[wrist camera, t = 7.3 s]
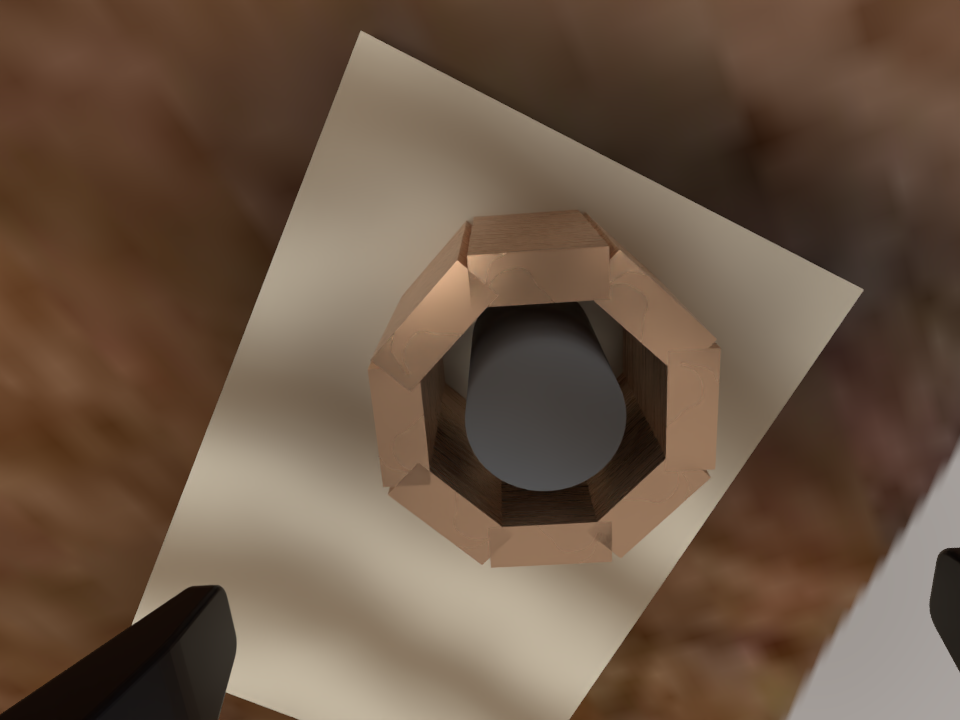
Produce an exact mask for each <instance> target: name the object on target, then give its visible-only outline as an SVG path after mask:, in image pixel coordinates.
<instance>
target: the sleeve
mask: <svg viewBox="0 0 960 720" xmlns="http://www.w3.org/2000/svg"><path fill="white" fill-rule="evenodd" d="M592 300H594V301H595V302H596V303H597V304H598V305H599V306H600V307H601V308H603V309H604V310H605V311H606V312H607V313H608V314H609V315H610V316H612V317H613V318H614V319H615V320H616V321H617V322H618V323H619V324H621V325H622V326H623V372H622V373H621V374H620V375H619V376H618V377H617V378H616V380H617V382H618V384H619V386H620V389H621V391H622V394H623V397H624V401H625V405H626V426H625V431H624V435H623V438H622V441H621V443H620V445H619V447H618V449H617V451H616V453H615V454H614V456H613V457H612V459H611V460H610V461H609V462H608V463H607V464H606V466H605V467H604V468H603V469H601V470H600V471H599V472H598V473H597V474H595V475H594V476H592V477H591V478H589V479H588V480H586V481H584V482H582V483H580V484H578V485H575V486H572V487H569V488H565V489H561V490H554V491H534V490H527V489H523V488H519V487H516V486H513V485H510V484H508V483H506V482H504V481H502V480H500V479H499V478H497V477H496V476H495V475H493V474H492V473H491V472H490V471H488V470H487V469H486V468H485V467H484V466H483V465H482V463H481V462H480V461H479V460H478V458H477V457H476V455H475V454H474V452H473V450H472V448H471V446H470V444H469V440H468V437H467V433H466V427H465V411H466V399H465V398H464V397H463V396H461V395H460V394H459V393H458V392H456V391H455V390H454V389H453V388H451V387H450V386H449V385H448V384H446V383H445V375H444V364H443V355H444V354H445V353H446V352H447V351H448V350H449V349H450V348H451V347H452V345H453V344H454V343H455V342H456V341H457V340H458V339H459V338H460V337H461V335H462V334H463V333H464V332H465V331H466V330H467V329H468V328H469V327H470V326H471V324H472V323H473V322H474V321H475V320H476V319H477V318H478V317H479V316H480V314H481V313H482V312H483V311H484V310H485V309H486V308H487V307H497V306H513V305H528V304H544V303H560V302H576V301H592ZM716 340H717V338H716V337H715V336H714V335H713V334H712V333H711V332H710V331H709V330H708V329H707V328H706V327H705V326H704V325H703V324H702V323H701V322H700V321H699V320H698V319H697V318H696V317H695V316H694V315H693V314H692V313H691V312H690V311H689V310H688V309H687V308H686V307H685V306H684V305H683V304H682V303H681V302H680V301H679V300H678V299H677V298H676V297H675V296H674V295H673V294H672V293H671V292H670V291H669V290H668V289H667V288H666V286H665V285H664V284H663V283H662V282H661V281H660V280H659V279H658V278H656V277H655V276H654V275H653V274H652V273H651V272H650V271H649V270H648V269H647V268H646V267H645V266H643V265H642V264H641V263H640V262H639V261H638V260H637V259H636V258H635V257H634V256H633V255H631V254H630V253H629V252H628V251H627V250H626V249H625V248H624V247H623V246H622V245H621V244H620V243H618V242H617V241H616V240H615V239H614V238H613V237H612V236H611V235H610V234H609V233H608V232H606V231H605V230H604V229H603V228H602V227H601V226H600V225H599V224H598V223H597V222H596V221H595V220H593V219H592V218H591V217H590V216H589V215H588V214H587V213H586V212H585V213H584V214H583V215H582V214H581V213H580V211H579V210H564V211H550V212H535V213H521V214H506V215H491V216H477V217H474V218H473V224H472V225H471V224H470V223H469V222H468V221H467V220H466V222H465V223H464V224H463V225H462V226H461V227H460V229H459V230H458V231H457V232H456V233H455V234H454V236H453V237H452V238H451V239H450V240H449V241H448V243H447V244H446V245H445V246H444V247H443V248H442V250H441V251H440V252H439V253H438V254H437V255H436V257H435V258H434V259H433V260H432V261H431V262H430V264H429V265H428V266H427V267H426V268H425V269H424V271H423V272H422V273H421V274H420V275H419V276H418V278H417V279H416V280H415V281H414V282H413V283H412V285H411V286H410V287H409V288H408V289H407V290H406V292H405V293H404V294H403V295H402V296H401V299H400V301H399V303H398V305H397V307H396V309H395V311H394V313H393V315H392V317H391V319H390V321H389V323H388V325H387V327H386V329H385V331H384V333H383V335H382V337H381V339H380V342H379V344H378V346H377V348H376V350H375V352H374V354H373V356H372V358H371V363H370V366H369V368H368V377H369V384H370V392H371V399H372V407H373V415H374V422H375V430H376V437H377V445H378V453H379V460H380V468H381V476H382V483H383V487H390V488H389V492H388V495H389V496H390V497H391V498H393V499H394V500H395V501H397V502H398V503H399V504H401V505H402V506H403V507H405V508H406V509H407V510H409V511H410V512H411V513H413V514H414V515H415V516H417V517H418V518H419V519H421V520H422V521H423V522H425V523H426V524H427V525H429V526H430V527H431V528H433V529H434V530H436V531H437V532H438V533H440V534H441V535H442V536H444V537H445V538H446V539H448V540H449V541H450V542H452V543H453V544H454V545H456V546H457V547H458V548H460V549H461V550H462V551H464V552H465V553H466V554H468V555H469V556H470V557H472V558H473V559H474V560H476V561H477V562H478V563H480V564H481V565H483V564H484V563H485V562H486V561H487V560H488V559H489V558H490V562H491V568H497V567H518V566H538V565H558V564H579V563H599V562H612V552H613V553H615V554H616V555H617V556H618V557H620V558H622V557H623V556H624V555H625V554H626V553H627V552H629V551H630V550H631V549H632V548H633V547H634V546H635V545H636V544H638V543H639V542H640V541H641V540H642V539H643V538H644V537H645V536H646V535H648V534H649V533H650V532H651V531H652V530H653V529H654V528H655V527H657V526H658V525H659V524H660V523H661V522H662V521H663V520H664V519H665V518H667V517H668V516H669V515H670V514H671V513H672V512H673V511H674V510H676V509H677V508H678V507H679V506H680V505H681V504H682V503H683V502H684V501H686V500H687V499H688V498H689V497H690V496H691V495H692V494H693V493H695V492H696V491H697V490H698V489H699V488H700V487H701V486H702V485H703V484H705V483H706V482H707V481H708V480H709V479H710V478H711V477H710V475H709V473H708V472H707V470H713V469H715V464H716V443H717V421H718V400H719V378H720V356H721V348H720V347H719V346H718V345H717V344H716V343H715V341H716Z"/></svg>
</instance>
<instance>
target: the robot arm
mask: <svg viewBox="0 0 960 720" xmlns="http://www.w3.org/2000/svg"><path fill="white" fill-rule="evenodd" d="M930 614H931V618H932V621H933V623H934V625H935V627H936V629H937V631H938V633H939V635H940V636H941V638H942V640H943V642H944V644H945V646H946V647H947V649H948V651H949V653H950V655H951V657H952V658H953V660H954V662H955V664H956V666H957V667H958V670H959V671H960V548H947V549H944V550H943V551H941V552H940V554H939V555H938V558H937V562H936V567H935V573H934V579H933V585H932V591H931V596H930ZM236 649H237V637H236V632H235V628H234V623H233V619H232V615H231V610H230V606H229V602H228V597H227V594H226V591H225V590H224V588H223V587H221V586H220V585H199V586H191V587H188V588H186V589H185V590H183V591H182V592H180V593H179V594H177V595H176V596H174V597H173V598H171V599H170V600H169V601H167V602H166V603H164V604H163V605H161V606H160V607H158V608H157V609H155V610H154V611H152V612H151V613H149V614H148V615H146V616H145V617H143V618H142V619H140V620H139V621H138V622H136V623H135V624H133V625H132V626H130V627H129V628H127V629H126V630H124V631H123V632H121V633H120V634H118V635H117V636H115V637H114V638H112V639H111V640H109V641H108V642H107V643H105V644H104V645H102V646H101V647H99V648H98V649H96V650H95V651H93V652H92V653H90V654H89V655H87V656H86V657H84V658H83V659H81V660H80V661H78V662H77V663H76V664H74V665H73V666H71V667H70V668H68V669H67V670H65V671H64V672H62V673H61V674H59V675H58V676H56V677H55V678H53V679H52V680H50V681H49V682H47V683H46V684H45V685H43V686H42V687H40V688H39V689H37V690H36V691H34V692H33V693H31V694H30V695H28V696H27V697H25V698H24V699H22V700H21V701H19V702H18V703H16V704H15V705H14V706H12V707H11V708H9V709H8V710H6V711H5V712H3V713H2V714H0V720H218V719H219V715H220V711H221V708H222V704H223V700H224V697H225V693H226V689H227V685H228V682H229V678H230V674H231V671H232V667H233V663H234V660H235V656H236Z"/></svg>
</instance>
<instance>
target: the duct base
mask: <svg viewBox="0 0 960 720" xmlns="http://www.w3.org/2000/svg"><path fill="white" fill-rule="evenodd" d="M564 210H579V211H580V213H581V214H582V215H583V214H584V213H585V212H586V213H587V214H588V215H589V216H590V217H591V218H592V219H593V220H595V221H596V222H597V223H598V224H599V225H600V226H601V227H602V228H603V229H604V230H605V231H606V232H608V233H609V234H610V235H611V236H612V237H613V238H614V239H615V240H616V241H617V242H618V243H620V244H621V245H622V246H623V247H624V248H625V249H626V250H627V251H628V252H629V253H630V254H631V255H633V256H634V257H635V258H636V259H637V260H638V261H639V262H640V263H641V264H642V265H643V266H645V267H646V268H647V269H648V270H649V271H650V272H651V273H652V274H653V275H654V276H655V277H656V278H658V279H659V280H660V281H661V282H662V283H663V284H664V285H665V286H666V288H667V289H668V290H669V291H670V292H671V293H672V294H673V295H674V296H675V297H676V298H677V299H678V300H679V301H680V302H681V303H682V304H683V305H684V306H685V307H686V308H687V309H688V310H689V311H690V312H691V313H692V314H693V315H694V316H695V317H696V318H697V319H698V320H699V321H700V322H701V323H702V324H703V325H704V326H705V327H706V328H707V329H708V330H709V331H710V332H711V333H712V334H713V335H714V336H715V337H716V338H717V340H716V341H715V343H716V344H717V345H718V346H719V347H720V348H721V356H720V378H719V400H718V421H717V443H716V464H715V469H713V470H707V472H708V473H709V475H710V477H711V478H710V479H709V480H708V481H707V482H706V483H705V484H703V485H702V486H701V487H700V488H699V489H698V490H697V491H696V492H695V493H693V494H692V495H691V496H690V497H689V498H688V499H687V500H686V501H684V502H683V503H682V504H681V505H680V506H679V507H678V508H677V509H676V510H674V511H673V512H672V513H671V514H670V515H669V516H668V517H667V518H665V519H664V520H663V521H662V522H661V523H660V524H659V525H658V526H657V527H655V528H654V529H653V530H652V531H651V532H650V533H649V534H648V535H646V536H645V537H644V538H643V539H642V540H641V541H640V542H639V543H638V544H636V545H635V546H634V547H633V548H632V549H631V550H630V551H629V552H627V553H626V554H625V555H624V556H623V557H622V558H620V557H618V556H617V555H616V554H615V553H613V552H612V562H599V563H579V564H558V565H538V566H518V567H497V568H491V562H490V558H489V559H488V560H487V561H486V562H485V563H484V564H483V565H481V564H480V563H478V562H477V561H476V560H474V559H473V558H472V557H470V556H469V555H468V554H466V553H465V552H464V551H462V550H461V549H460V548H458V547H457V546H456V545H454V544H453V543H452V542H450V541H449V540H448V539H446V538H445V537H444V536H442V535H441V534H440V533H438V532H437V531H436V530H434V529H433V528H431V527H430V526H429V525H427V524H426V523H425V522H423V521H422V520H421V519H419V518H418V517H417V516H415V515H414V514H413V513H411V512H410V511H409V510H407V509H406V508H405V507H403V506H402V505H401V504H399V503H398V502H397V501H395V500H394V499H393V498H391V497H390V496H389V495H388V492H389V488H390V487H383V483H382V476H381V468H380V460H379V453H378V445H377V437H376V430H375V422H374V415H373V407H372V399H371V392H370V384H369V377H368V368H369V366H370V363H371V358H372V356H373V354H374V352H375V350H376V348H377V346H378V344H379V342H380V339H381V337H382V335H383V333H384V331H385V329H386V327H387V325H388V323H389V321H390V319H391V317H392V315H393V313H394V311H395V309H396V307H397V305H398V303H399V301H400V299H401V296H402V295H403V294H404V293H405V292H406V290H407V289H408V288H409V287H410V286H411V285H412V283H413V282H414V281H415V280H416V279H417V278H418V276H419V275H420V274H421V273H422V272H423V271H424V269H425V268H426V267H427V266H428V265H429V264H430V262H431V261H432V260H433V259H434V258H435V257H436V255H437V254H438V253H439V252H440V251H441V250H442V248H443V247H444V246H445V245H446V244H447V243H448V241H449V240H450V239H451V238H452V237H453V236H454V234H455V233H456V232H457V231H458V230H459V229H460V227H461V226H462V225H463V224H464V223H465V222H466V220H467V221H468V222H469V223H470V224H471V225H472V224H473V218H474V217H477V216H491V215H506V214H521V213H535V212H550V211H564ZM863 290H864V289H862V288H860V287H858V286H856V285H854V284H852V283H850V282H848V281H846V280H844V279H842V278H840V277H838V276H836V275H834V274H832V273H831V272H829V271H827V270H825V269H823V268H821V267H819V266H817V265H815V264H813V263H811V262H809V261H807V260H805V259H803V258H801V257H799V256H798V255H796V254H794V253H792V252H790V251H788V250H786V249H784V248H782V247H780V246H778V245H776V244H774V243H772V242H770V241H768V240H766V239H764V238H763V237H761V236H759V235H757V234H755V233H753V232H751V231H749V230H747V229H745V228H743V227H741V226H739V225H737V224H735V223H733V222H731V221H730V220H728V219H726V218H724V217H722V216H720V215H718V214H716V213H714V212H712V211H710V210H708V209H706V208H704V207H702V206H700V205H698V204H697V203H695V202H693V201H691V200H689V199H687V198H685V197H683V196H681V195H679V194H677V193H675V192H673V191H671V190H669V189H667V188H665V187H663V186H662V185H660V184H658V183H656V182H654V181H652V180H650V179H648V178H646V177H644V176H642V175H640V174H638V173H636V172H634V171H632V170H630V169H629V168H627V167H625V166H623V165H621V164H619V163H617V162H615V161H613V160H611V159H609V158H607V157H605V156H603V155H601V154H599V153H597V152H596V151H594V150H592V149H590V148H588V147H586V146H584V145H582V144H580V143H578V142H576V141H574V140H572V139H570V138H568V137H566V136H564V135H562V134H561V133H559V132H557V131H555V130H553V129H551V128H549V127H547V126H545V125H543V124H541V123H539V122H537V121H535V120H533V119H531V118H529V117H528V116H526V115H524V114H522V113H520V112H518V111H516V110H514V109H512V108H510V107H508V106H506V105H504V104H502V103H500V102H498V101H496V100H495V99H493V98H491V97H489V96H487V95H485V94H483V93H481V92H479V91H477V90H475V89H473V88H471V87H469V86H467V85H465V84H463V83H462V82H460V81H458V80H456V79H454V78H452V77H450V76H448V75H446V74H444V73H442V72H440V71H438V70H436V69H434V68H432V67H430V66H428V65H427V64H425V63H423V62H421V61H419V60H417V59H415V58H413V57H411V56H409V55H407V54H405V53H403V52H401V51H399V50H397V49H395V48H394V47H392V46H390V45H388V44H386V43H384V42H382V41H380V40H378V39H376V38H374V37H372V36H370V35H368V34H366V33H364V32H362V31H360V34H359V36H358V39H357V42H356V44H355V47H354V49H353V52H352V55H351V57H350V60H349V62H348V65H347V68H346V70H345V73H344V75H343V78H342V81H341V83H340V86H339V88H338V91H337V94H336V96H335V99H334V101H333V104H332V107H331V109H330V112H329V114H328V117H327V120H326V122H325V125H324V127H323V130H322V133H321V135H320V138H319V140H318V143H317V145H316V148H315V151H314V153H313V156H312V158H311V161H310V164H309V166H308V169H307V171H306V174H305V177H304V179H303V182H302V184H301V187H300V190H299V192H298V195H297V197H296V200H295V203H294V205H293V208H292V210H291V213H290V216H289V218H288V221H287V223H286V226H285V229H284V231H283V234H282V236H281V239H280V242H279V244H278V247H277V249H276V252H275V254H274V257H273V260H272V262H271V265H270V267H269V270H268V273H267V275H266V278H265V280H264V283H263V286H262V288H261V291H260V293H259V296H258V299H257V301H256V304H255V306H254V309H253V312H252V314H251V317H250V319H249V322H248V325H247V327H246V330H245V332H244V335H243V338H242V340H241V343H240V345H239V348H238V351H237V353H236V356H235V358H234V361H233V363H232V366H231V369H230V371H229V374H228V376H227V379H226V382H225V384H224V387H223V389H222V392H221V395H220V397H219V400H218V402H217V405H216V408H215V410H214V413H213V415H212V418H211V421H210V423H209V426H208V428H207V431H206V434H205V436H204V439H203V441H202V444H201V447H200V449H199V452H198V454H197V457H196V460H195V462H194V465H193V467H192V470H191V472H190V475H189V478H188V480H187V483H186V485H185V488H184V491H183V493H182V496H181V498H180V501H179V504H178V506H177V509H176V511H175V514H174V517H173V519H172V522H171V524H170V527H169V530H168V532H167V535H166V537H165V540H164V543H163V545H162V548H161V550H160V553H159V556H158V558H157V561H156V563H155V566H154V569H153V571H152V574H151V576H150V579H149V582H148V584H147V587H146V589H145V592H144V594H143V597H142V600H141V602H140V605H139V607H138V610H137V613H136V615H135V618H134V620H133V623H132V625H133V624H135V623H136V622H138V621H139V620H140V619H142V618H143V617H145V616H146V615H148V614H149V613H151V612H152V611H154V610H155V609H157V608H158V607H160V606H161V605H163V604H164V603H166V602H167V601H169V600H170V599H171V598H173V597H174V596H176V595H177V594H179V593H180V592H182V591H183V590H185V589H186V588H188V587H191V586H199V585H220V586H221V587H223V588H224V590H225V591H226V594H227V597H228V602H229V606H230V610H231V615H232V619H233V623H234V628H235V632H236V637H237V649H236V656H235V660H234V663H233V667H232V671H231V674H230V678H229V682H228V685H227V689H226V692H227V693H229V694H232V695H235V696H237V697H240V698H243V699H245V700H248V701H251V702H254V703H256V704H259V705H262V706H264V707H267V708H270V709H272V710H275V711H278V712H280V713H283V714H286V715H289V716H291V717H294V718H297V719H299V720H569V719H570V718H571V716H572V715H573V713H574V712H575V710H576V709H577V707H578V706H579V704H580V703H581V701H582V700H583V699H584V697H585V696H586V694H587V693H588V691H589V690H590V688H591V687H592V685H593V684H594V683H595V681H596V680H597V678H598V677H599V675H600V674H601V672H602V671H603V669H604V668H605V666H606V665H607V664H608V662H609V661H610V659H611V658H612V656H613V655H614V653H615V652H616V650H617V649H618V648H619V646H620V645H621V643H622V642H623V640H624V639H625V637H626V636H627V634H628V633H629V631H630V630H631V629H632V627H633V626H634V624H635V623H636V621H637V620H638V618H639V617H640V615H641V614H642V613H643V611H644V610H645V608H646V607H647V605H648V604H649V602H650V601H651V599H652V598H653V596H654V595H655V594H656V592H657V591H658V589H659V588H660V586H661V585H662V583H663V582H664V580H665V579H666V578H667V576H668V575H669V573H670V572H671V570H672V569H673V567H674V566H675V564H676V563H677V561H678V560H679V559H680V557H681V556H682V554H683V553H684V551H685V550H686V548H687V547H688V545H689V544H690V543H691V541H692V540H693V538H694V537H695V535H696V534H697V532H698V531H699V529H700V528H701V526H702V525H703V524H704V522H705V521H706V519H707V518H708V516H709V515H710V513H711V512H712V510H713V509H714V508H715V506H716V505H717V503H718V502H719V500H720V499H721V497H722V496H723V494H724V493H725V491H726V490H727V489H728V487H729V486H730V484H731V483H732V481H733V480H734V478H735V477H736V475H737V474H738V473H739V471H740V470H741V468H742V467H743V465H744V464H745V462H746V461H747V459H748V458H749V456H750V455H751V454H752V452H753V451H754V449H755V448H756V446H757V445H758V443H759V442H760V440H761V439H762V438H763V436H764V435H765V433H766V432H767V430H768V429H769V427H770V426H771V424H772V423H773V422H774V420H775V419H776V417H777V416H778V414H779V413H780V411H781V410H782V408H783V407H784V405H785V404H786V403H787V401H788V400H789V398H790V397H791V395H792V394H793V392H794V391H795V389H796V388H797V387H798V385H799V384H800V382H801V381H802V379H803V378H804V376H805V375H806V373H807V372H808V370H809V369H810V368H811V366H812V365H813V363H814V362H815V360H816V359H817V357H818V356H819V354H820V353H821V352H822V350H823V349H824V347H825V346H826V344H827V343H828V341H829V340H830V338H831V337H832V335H833V334H834V333H835V331H836V330H837V328H838V327H839V325H840V324H841V322H842V321H843V319H844V318H845V317H846V315H847V314H848V312H849V311H850V309H851V308H852V306H853V305H854V303H855V302H856V300H857V299H858V298H859V296H860V295H861V293H862V292H863ZM443 364H444V375H445V383H446V384H448V385H449V386H450V387H451V388H453V389H454V390H455V391H456V392H458V393H459V394H460V395H461V396H463V397H464V398H465V399H466V411H465V427H466V433H467V437H468V440H469V444H470V446H471V448H472V450H473V452H474V454H475V455H476V457H477V458H478V460H479V461H480V462H481V463H482V465H483V466H484V467H485V468H486V469H487V470H488V471H490V472H491V473H492V474H493V475H495V476H496V477H497V478H499V479H500V480H502V481H504V482H506V483H508V484H510V485H513V486H516V487H519V488H523V489H527V490H534V491H554V490H561V489H565V488H569V487H572V486H575V485H578V484H580V483H582V482H584V481H586V480H588V479H589V478H591V477H592V476H594V475H595V474H597V473H598V472H599V471H600V470H601V469H603V468H604V467H605V466H606V464H607V463H608V462H609V461H610V460H611V459H612V457H613V456H614V454H615V453H616V451H617V449H618V447H619V445H620V443H621V441H622V438H623V435H624V431H625V426H626V405H625V401H624V397H623V394H622V391H621V389H620V386H619V384H618V382H617V380H616V378H617V377H618V376H619V375H620V374H621V373H622V372H623V326H622V325H621V324H619V323H618V322H617V321H616V320H615V319H614V318H613V317H612V316H610V315H609V314H608V313H607V312H606V311H605V310H604V309H603V308H601V307H600V306H599V305H598V304H597V303H596V302H595V301H594V300H592V301H576V302H560V303H544V304H528V305H513V306H497V307H487V308H486V309H485V310H484V311H483V312H482V313H481V314H480V316H479V317H478V318H477V319H476V320H475V321H474V322H473V323H472V324H471V326H470V327H469V328H468V329H467V330H466V331H465V332H464V333H463V334H462V335H461V337H460V338H459V339H458V340H457V341H456V342H455V343H454V344H453V345H452V347H451V348H450V349H449V350H448V351H447V352H446V353H445V354H444V355H443Z"/></svg>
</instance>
